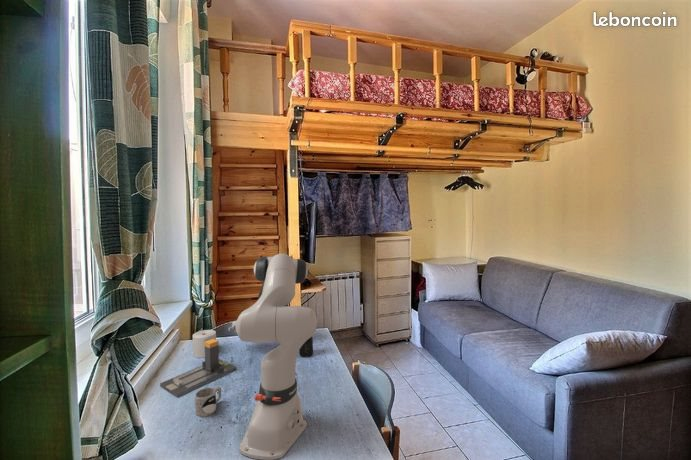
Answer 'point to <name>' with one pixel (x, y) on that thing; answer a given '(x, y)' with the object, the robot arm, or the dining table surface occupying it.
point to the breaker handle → (211, 354)
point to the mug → (206, 401)
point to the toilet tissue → (201, 342)
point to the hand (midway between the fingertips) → (235, 331)
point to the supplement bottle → (307, 348)
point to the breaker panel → (195, 378)
